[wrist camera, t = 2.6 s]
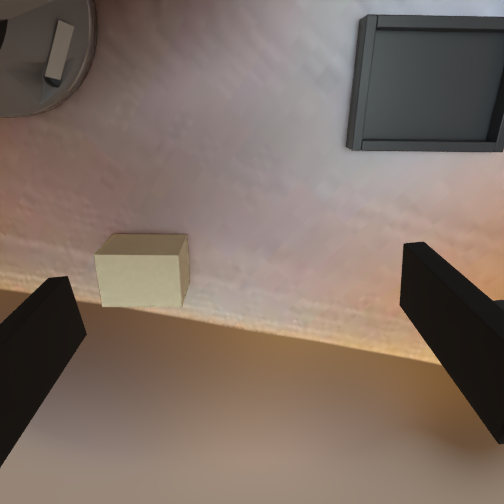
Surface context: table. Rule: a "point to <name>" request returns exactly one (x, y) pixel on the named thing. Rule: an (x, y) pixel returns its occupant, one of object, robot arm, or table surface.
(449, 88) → the dark grey tray
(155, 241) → the beige rectangular block
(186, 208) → the table surface
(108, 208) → the table surface
